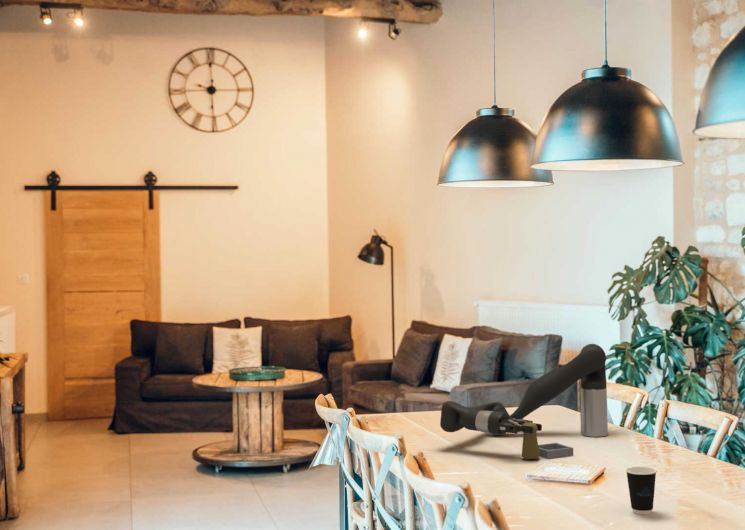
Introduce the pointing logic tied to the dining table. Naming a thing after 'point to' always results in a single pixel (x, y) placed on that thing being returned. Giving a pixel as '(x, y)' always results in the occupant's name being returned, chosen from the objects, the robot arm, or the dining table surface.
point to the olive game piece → (530, 443)
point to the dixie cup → (641, 488)
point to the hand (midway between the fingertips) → (536, 428)
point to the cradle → (555, 450)
